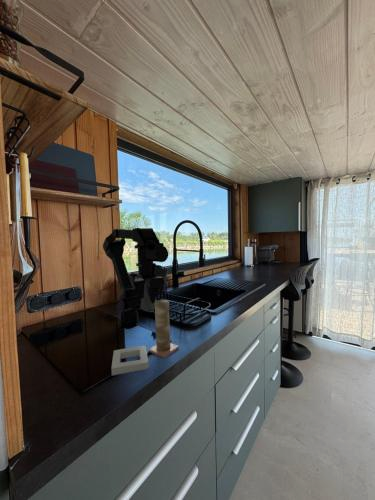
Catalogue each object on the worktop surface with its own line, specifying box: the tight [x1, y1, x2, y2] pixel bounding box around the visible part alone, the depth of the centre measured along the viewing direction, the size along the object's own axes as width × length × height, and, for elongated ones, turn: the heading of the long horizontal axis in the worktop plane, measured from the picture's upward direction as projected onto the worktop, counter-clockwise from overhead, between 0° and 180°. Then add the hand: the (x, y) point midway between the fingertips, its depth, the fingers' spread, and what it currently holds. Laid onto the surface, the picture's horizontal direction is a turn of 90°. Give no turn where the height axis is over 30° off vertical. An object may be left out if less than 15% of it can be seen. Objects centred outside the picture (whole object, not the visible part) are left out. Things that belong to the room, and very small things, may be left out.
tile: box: [148, 342, 179, 359], centre depth 74 cm, size 7×7×1 cm
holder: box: [110, 345, 149, 376], centre depth 67 cm, size 10×10×2 cm
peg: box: [154, 299, 171, 351], centre depth 73 cm, size 5×5×16 cm
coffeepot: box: [139, 284, 165, 310], centre depth 113 cm, size 15×9×18 cm, turn 112°
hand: (147, 300), depth 86 cm, fingers open, 9 cm apart
